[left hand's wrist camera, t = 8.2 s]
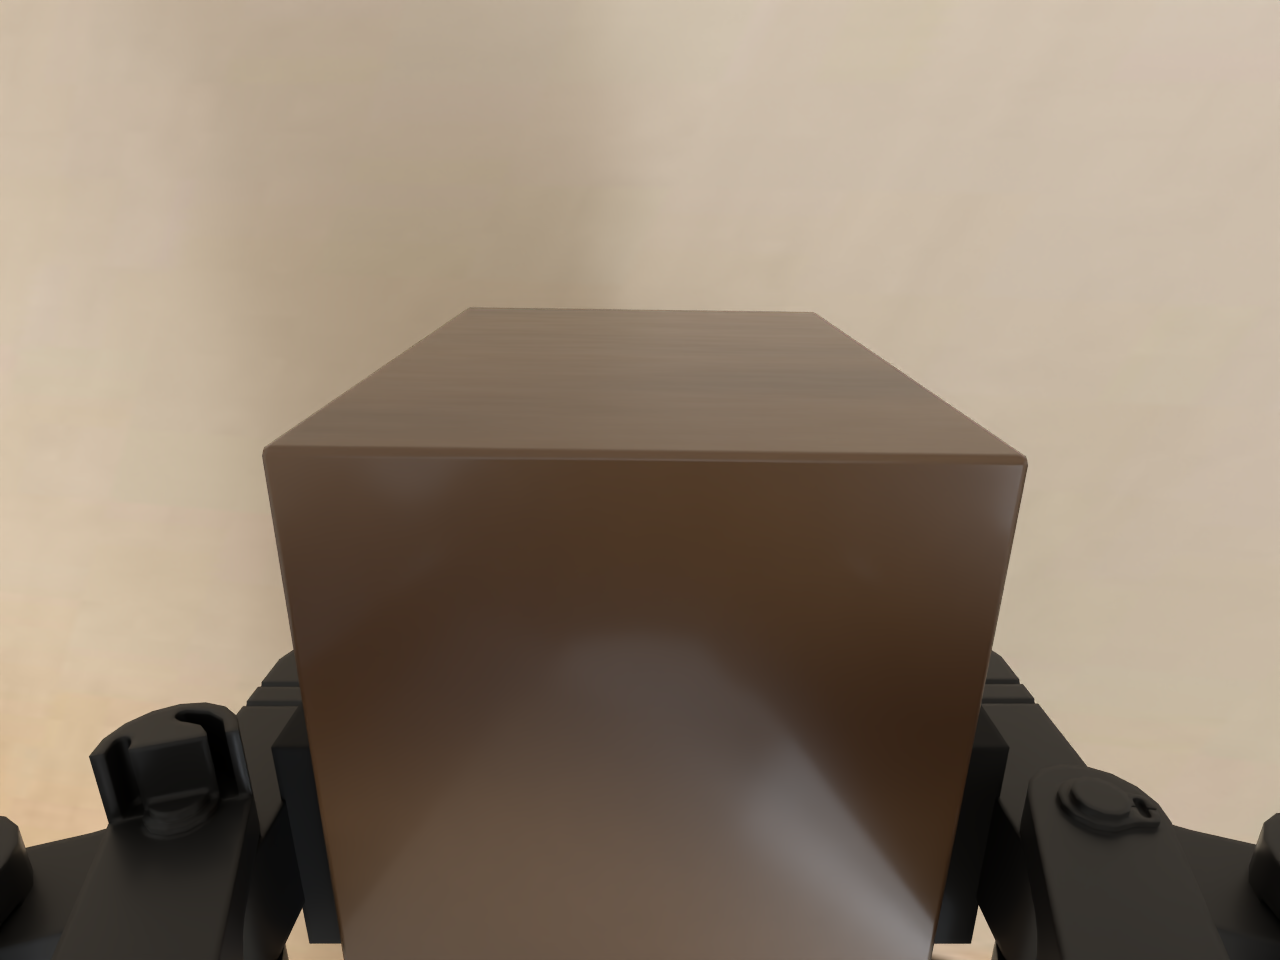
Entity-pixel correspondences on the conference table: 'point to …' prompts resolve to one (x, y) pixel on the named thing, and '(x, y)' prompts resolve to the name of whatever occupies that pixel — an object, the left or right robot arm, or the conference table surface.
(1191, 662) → the conference table surface
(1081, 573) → the conference table surface
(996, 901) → the left robot arm
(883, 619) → the post
